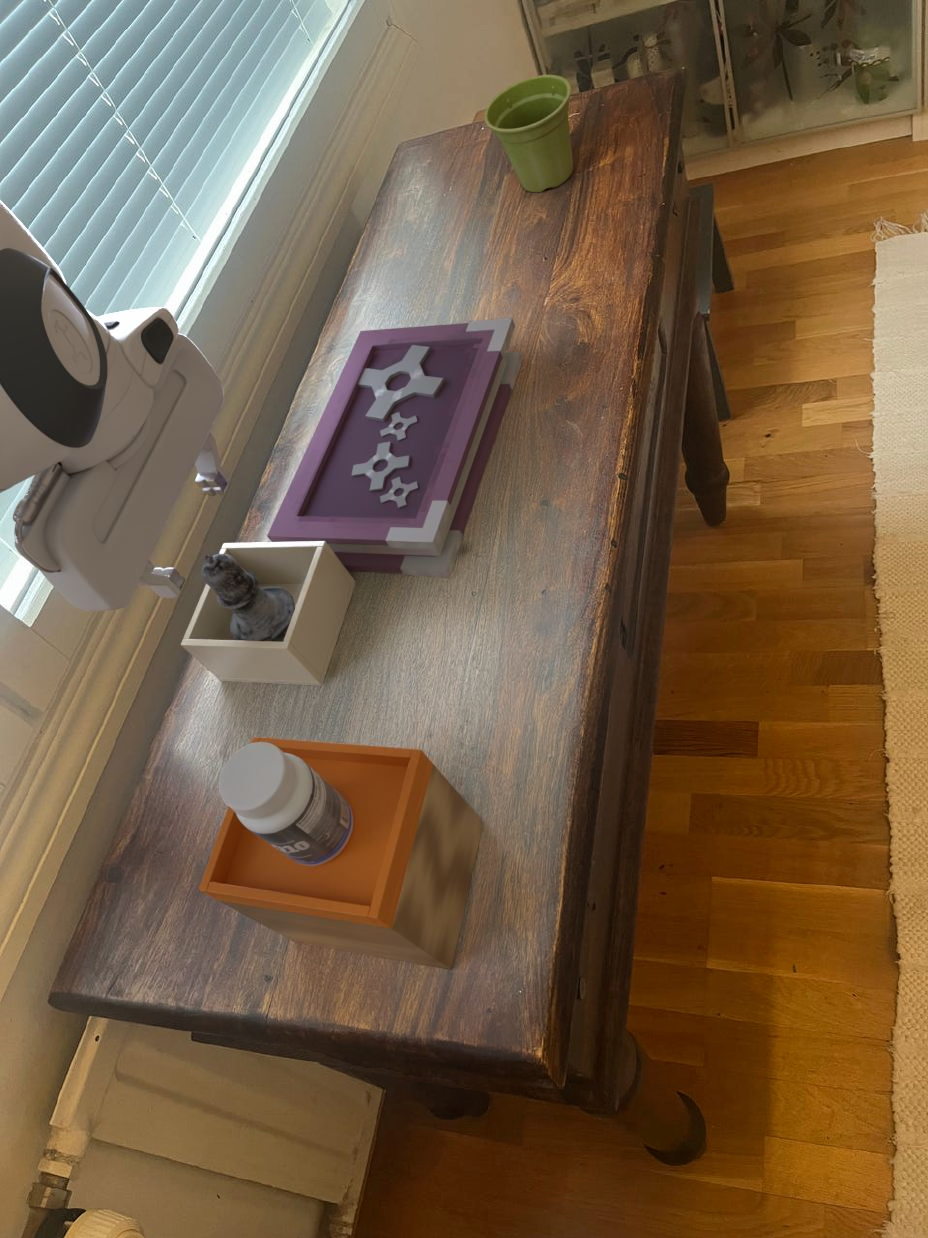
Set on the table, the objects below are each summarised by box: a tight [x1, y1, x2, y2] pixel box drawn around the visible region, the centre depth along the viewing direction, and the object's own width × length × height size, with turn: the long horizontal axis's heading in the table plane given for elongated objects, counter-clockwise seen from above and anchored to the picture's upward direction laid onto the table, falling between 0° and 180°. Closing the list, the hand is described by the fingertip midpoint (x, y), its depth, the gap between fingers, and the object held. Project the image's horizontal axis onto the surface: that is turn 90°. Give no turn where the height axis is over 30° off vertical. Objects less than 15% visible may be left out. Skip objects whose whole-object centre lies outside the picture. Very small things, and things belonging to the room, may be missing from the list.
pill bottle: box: [218, 742, 354, 866], centre depth 53 cm, size 5×5×8 cm
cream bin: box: [180, 541, 357, 687], centre depth 78 cm, size 10×10×6 cm
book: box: [266, 317, 524, 578], centre depth 84 cm, size 25×16×5 cm, turn 163°
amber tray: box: [198, 736, 434, 928], centre depth 56 cm, size 10×12×2 cm
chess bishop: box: [201, 553, 295, 642], centre depth 74 cm, size 6×6×12 cm
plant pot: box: [483, 74, 574, 193], centre depth 101 cm, size 9×9×9 cm
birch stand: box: [217, 763, 484, 971], centre depth 61 cm, size 10×12×10 cm
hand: (197, 537), depth 69 cm, fingers open, 8 cm apart
